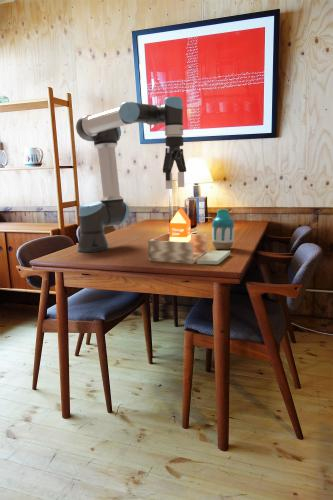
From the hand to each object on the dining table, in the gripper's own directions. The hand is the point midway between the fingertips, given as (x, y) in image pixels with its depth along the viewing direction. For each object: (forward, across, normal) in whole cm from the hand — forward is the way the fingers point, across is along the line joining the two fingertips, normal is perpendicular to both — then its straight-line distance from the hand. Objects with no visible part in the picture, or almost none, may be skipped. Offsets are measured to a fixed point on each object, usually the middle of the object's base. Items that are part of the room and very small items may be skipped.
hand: (175, 187), depth 165 cm
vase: (+31, +22, -15) cm, 41 cm away
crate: (+31, 0, -1) cm, 31 cm away
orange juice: (+29, 0, -2) cm, 29 cm away
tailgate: (+30, 0, -13) cm, 33 cm away
